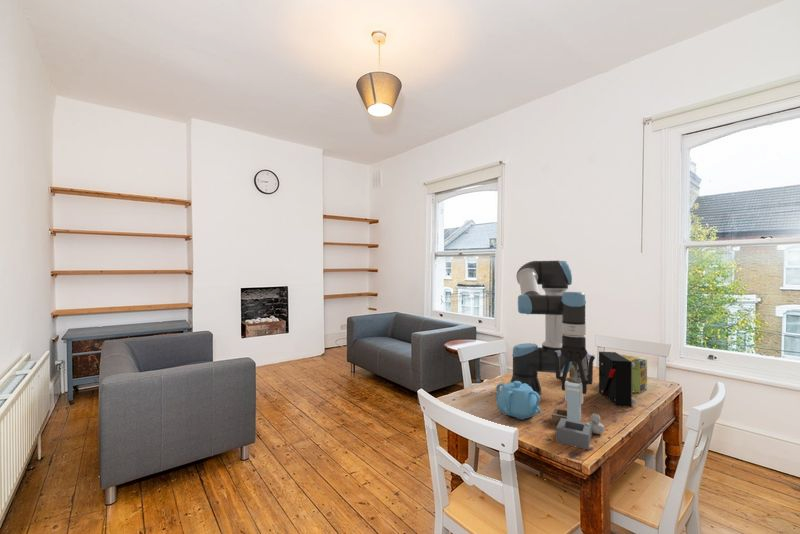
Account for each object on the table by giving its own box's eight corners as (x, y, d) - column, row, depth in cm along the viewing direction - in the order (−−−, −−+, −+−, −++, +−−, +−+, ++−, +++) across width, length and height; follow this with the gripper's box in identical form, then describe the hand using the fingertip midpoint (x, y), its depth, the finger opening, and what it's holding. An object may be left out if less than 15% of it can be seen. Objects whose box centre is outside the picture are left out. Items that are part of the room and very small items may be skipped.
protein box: (640, 393, 172) (640, 361, 172) (606, 385, 184) (606, 355, 184) (647, 389, 178) (647, 358, 178) (614, 381, 190) (614, 352, 190)
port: (556, 442, 124) (556, 426, 124) (561, 431, 133) (561, 416, 133) (588, 450, 119) (588, 434, 119) (591, 438, 127) (591, 423, 127)
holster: (551, 424, 138) (551, 414, 138) (555, 417, 145) (555, 407, 145) (574, 429, 134) (574, 419, 134) (577, 421, 140) (577, 411, 140)
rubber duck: (585, 433, 131) (585, 411, 131) (590, 427, 136) (590, 406, 136) (601, 437, 127) (601, 415, 127) (606, 431, 132) (606, 410, 132)
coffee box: (589, 383, 188) (588, 352, 188) (576, 383, 188) (576, 352, 188) (580, 377, 197) (580, 348, 197) (568, 377, 197) (568, 348, 197)
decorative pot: (500, 421, 141) (500, 387, 141) (494, 405, 157) (494, 375, 157) (542, 423, 139) (542, 389, 139) (532, 407, 155) (532, 376, 155)
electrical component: (636, 407, 155) (636, 361, 155) (611, 405, 157) (611, 360, 157) (620, 393, 172) (620, 352, 172) (597, 392, 174) (597, 351, 175)
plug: (568, 415, 128) (568, 382, 128) (581, 417, 126) (581, 384, 126) (566, 419, 125) (566, 385, 125) (579, 421, 123) (579, 387, 123)
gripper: (545, 334, 127) (546, 399, 127) (600, 339, 118) (601, 409, 118) (549, 331, 134) (550, 393, 133) (602, 336, 124) (602, 402, 124)
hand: (574, 401), depth 126 cm, fingers closed on plug, 4 cm apart
